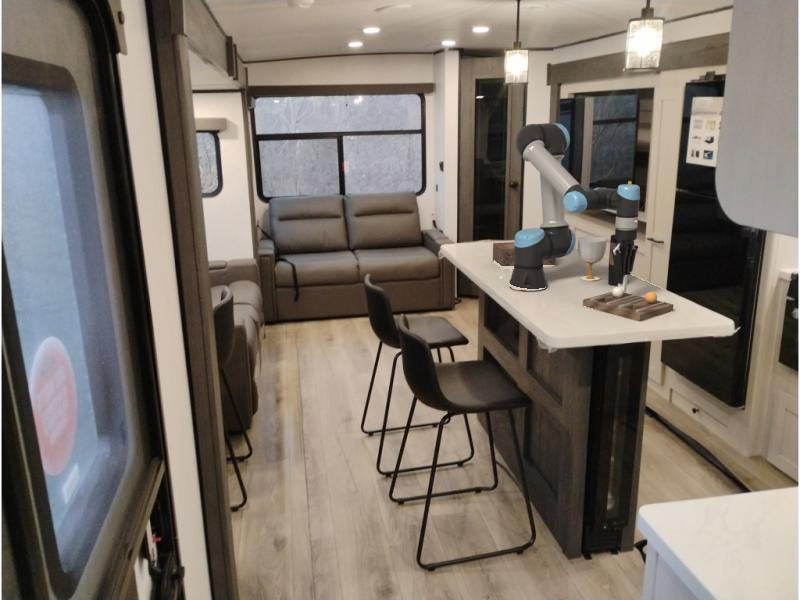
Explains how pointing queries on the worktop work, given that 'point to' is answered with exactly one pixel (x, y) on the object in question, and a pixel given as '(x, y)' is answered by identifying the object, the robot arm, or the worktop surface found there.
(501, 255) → the tissue box cover
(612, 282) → the travel mug
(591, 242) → the cup
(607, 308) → the hole deck
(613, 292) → the cream ball
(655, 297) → the orange ball
